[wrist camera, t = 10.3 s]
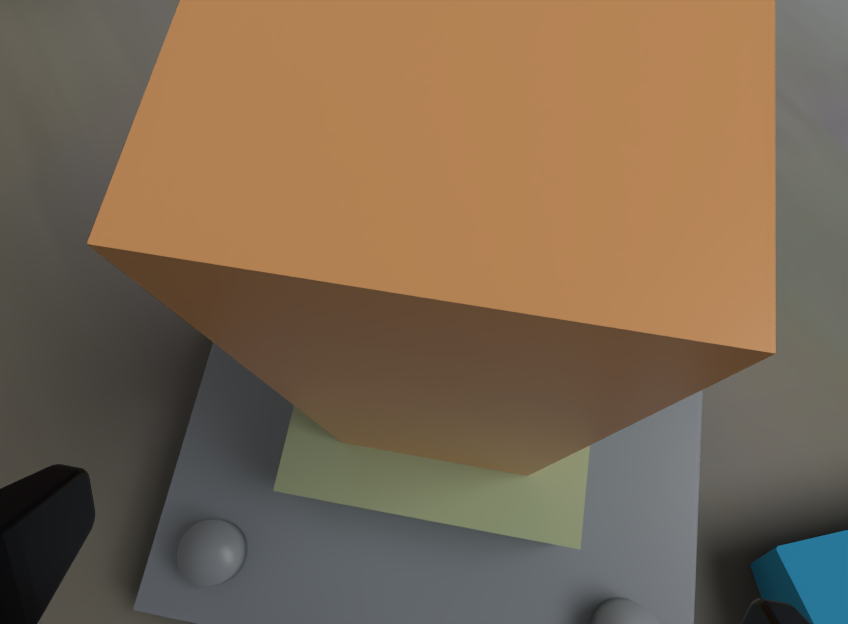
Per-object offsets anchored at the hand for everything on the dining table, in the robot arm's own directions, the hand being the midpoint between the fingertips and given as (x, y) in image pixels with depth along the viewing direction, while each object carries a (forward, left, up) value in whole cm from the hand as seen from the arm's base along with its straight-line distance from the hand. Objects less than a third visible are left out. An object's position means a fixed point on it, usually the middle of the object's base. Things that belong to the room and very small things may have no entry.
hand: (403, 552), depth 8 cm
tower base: (+4, -2, -12) cm, 13 cm away
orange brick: (+4, -2, -8) cm, 9 cm away
